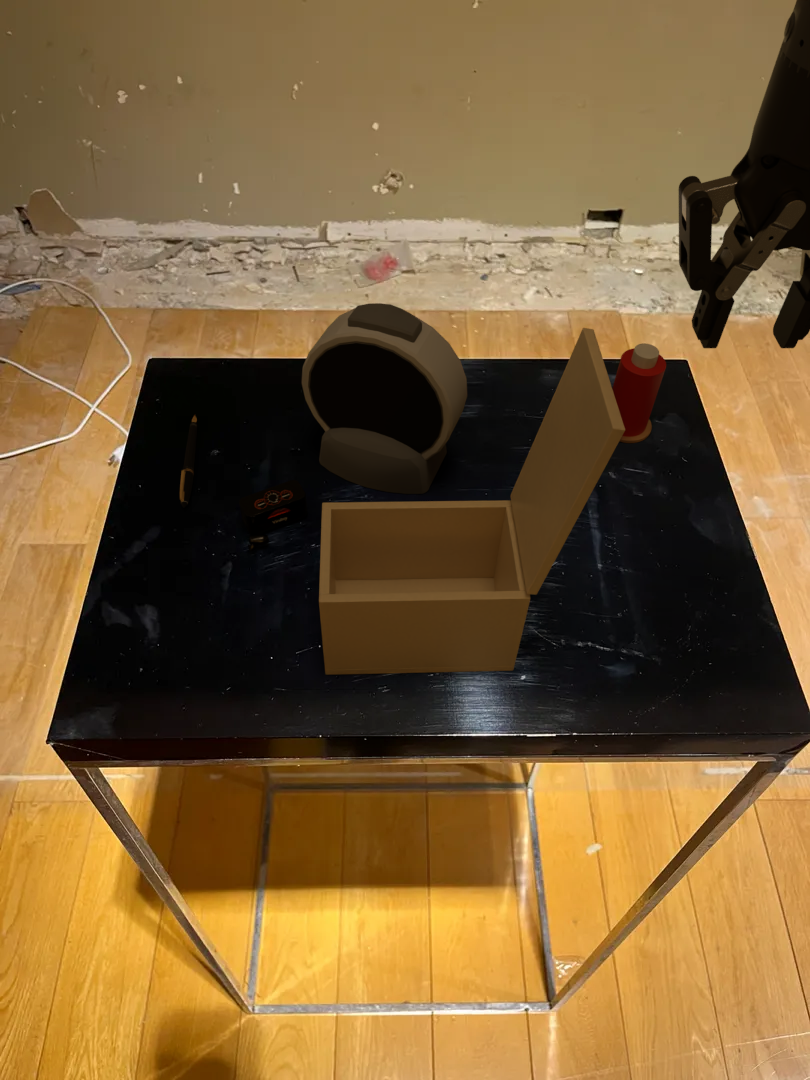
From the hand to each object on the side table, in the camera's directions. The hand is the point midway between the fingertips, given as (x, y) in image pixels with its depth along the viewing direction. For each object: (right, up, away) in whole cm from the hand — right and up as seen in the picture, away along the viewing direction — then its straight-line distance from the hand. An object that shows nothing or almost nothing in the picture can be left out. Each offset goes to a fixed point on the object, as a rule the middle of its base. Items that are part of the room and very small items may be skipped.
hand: (744, 339), depth 53 cm
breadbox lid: (-11, -8, +8) cm, 16 cm away
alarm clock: (-24, -4, +37) cm, 45 cm away
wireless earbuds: (-35, -12, +30) cm, 48 cm away
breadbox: (-21, -21, +23) cm, 37 cm away
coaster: (+3, 0, +41) cm, 42 cm away
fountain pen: (-45, -5, +36) cm, 58 cm away
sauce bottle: (+3, +1, +41) cm, 41 cm away
